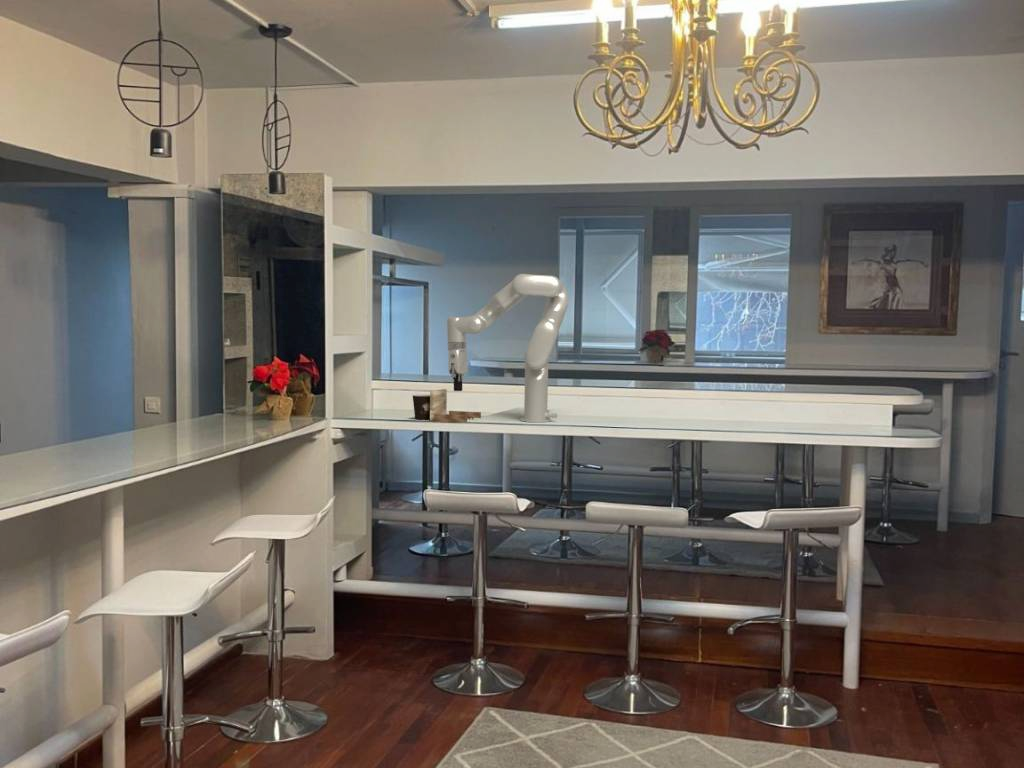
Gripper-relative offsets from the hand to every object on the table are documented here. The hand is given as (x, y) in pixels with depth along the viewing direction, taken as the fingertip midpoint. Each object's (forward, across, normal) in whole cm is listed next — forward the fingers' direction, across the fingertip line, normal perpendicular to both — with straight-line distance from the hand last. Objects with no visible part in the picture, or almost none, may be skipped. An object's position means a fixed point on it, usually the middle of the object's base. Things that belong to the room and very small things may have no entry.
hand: (458, 390), depth 397 cm
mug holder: (+12, 0, 0) cm, 12 cm away
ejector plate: (+12, 0, +9) cm, 15 cm away
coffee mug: (+12, -2, +14) cm, 18 cm away
